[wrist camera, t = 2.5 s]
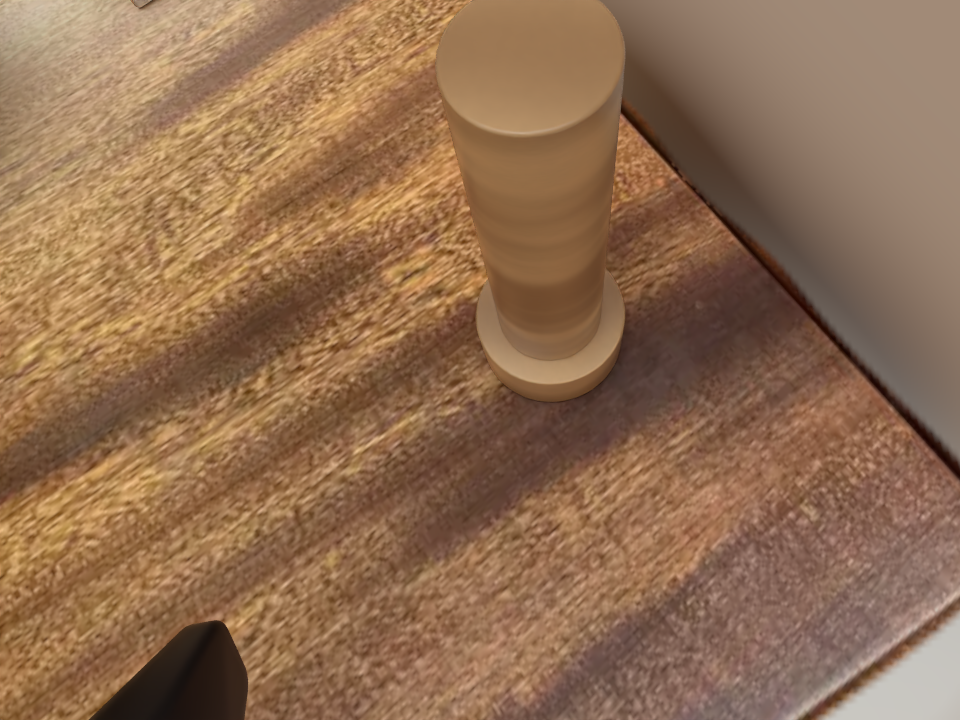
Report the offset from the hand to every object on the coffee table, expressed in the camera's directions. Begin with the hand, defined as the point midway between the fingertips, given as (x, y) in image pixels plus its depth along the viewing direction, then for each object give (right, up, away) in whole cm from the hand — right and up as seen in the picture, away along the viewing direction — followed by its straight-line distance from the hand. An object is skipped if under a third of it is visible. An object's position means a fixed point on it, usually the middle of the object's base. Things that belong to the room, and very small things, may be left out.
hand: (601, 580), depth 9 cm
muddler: (+1, +3, +15) cm, 16 cm away
